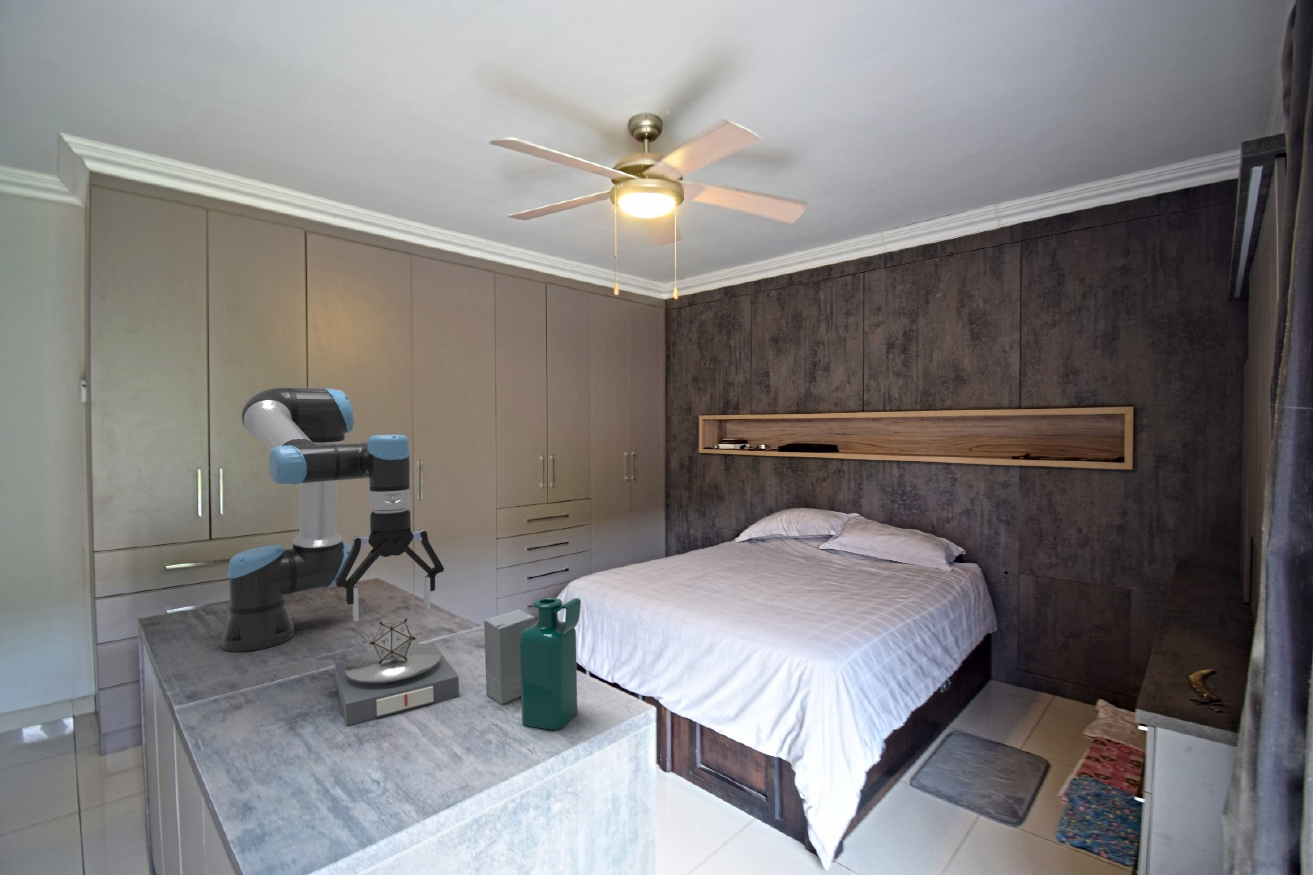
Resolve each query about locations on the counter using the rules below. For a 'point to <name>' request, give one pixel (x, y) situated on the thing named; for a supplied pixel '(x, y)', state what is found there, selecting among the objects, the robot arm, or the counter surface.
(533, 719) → the pitcher
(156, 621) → the counter surface
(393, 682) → the scale
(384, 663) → the pan
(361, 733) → the counter surface
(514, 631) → the skincare box
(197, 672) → the counter surface
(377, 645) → the game die
